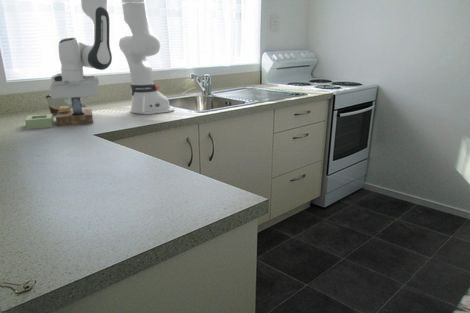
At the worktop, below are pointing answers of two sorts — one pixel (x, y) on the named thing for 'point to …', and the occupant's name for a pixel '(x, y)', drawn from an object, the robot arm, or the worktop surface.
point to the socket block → (74, 118)
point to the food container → (55, 104)
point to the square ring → (39, 121)
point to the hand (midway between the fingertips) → (77, 107)
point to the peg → (77, 106)
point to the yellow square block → (64, 109)
